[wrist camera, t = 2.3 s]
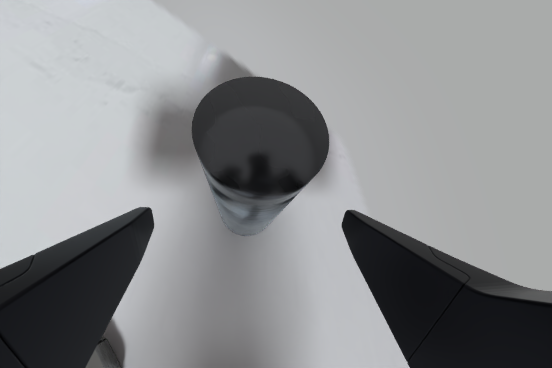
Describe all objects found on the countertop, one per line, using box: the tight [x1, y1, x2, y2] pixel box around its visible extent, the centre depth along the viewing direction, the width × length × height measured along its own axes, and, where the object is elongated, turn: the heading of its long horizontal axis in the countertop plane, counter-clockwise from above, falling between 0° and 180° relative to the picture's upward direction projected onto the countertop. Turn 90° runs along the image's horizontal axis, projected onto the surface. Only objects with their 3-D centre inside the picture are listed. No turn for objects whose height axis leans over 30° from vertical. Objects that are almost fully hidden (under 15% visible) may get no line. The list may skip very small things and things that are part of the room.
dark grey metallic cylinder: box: [192, 77, 329, 236], centre depth 13 cm, size 5×5×13 cm
